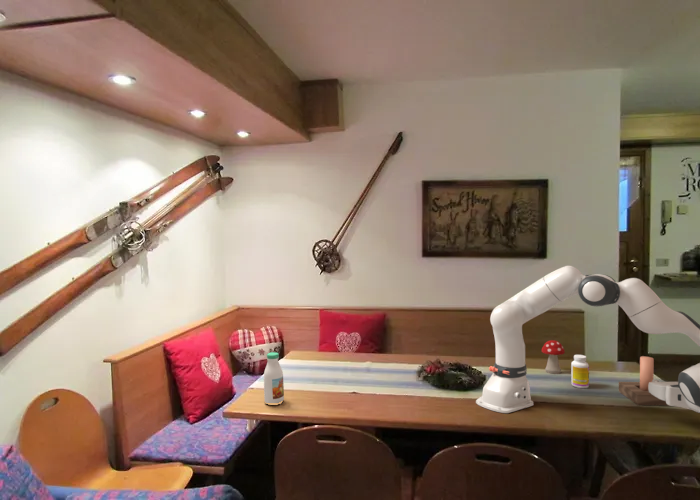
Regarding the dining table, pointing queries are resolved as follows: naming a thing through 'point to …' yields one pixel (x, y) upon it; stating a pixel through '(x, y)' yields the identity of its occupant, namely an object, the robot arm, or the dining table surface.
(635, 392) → the socket
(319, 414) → the dining table surface
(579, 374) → the supplement bottle
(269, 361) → the milk bottle
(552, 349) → the decorative mushroom
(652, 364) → the peg
